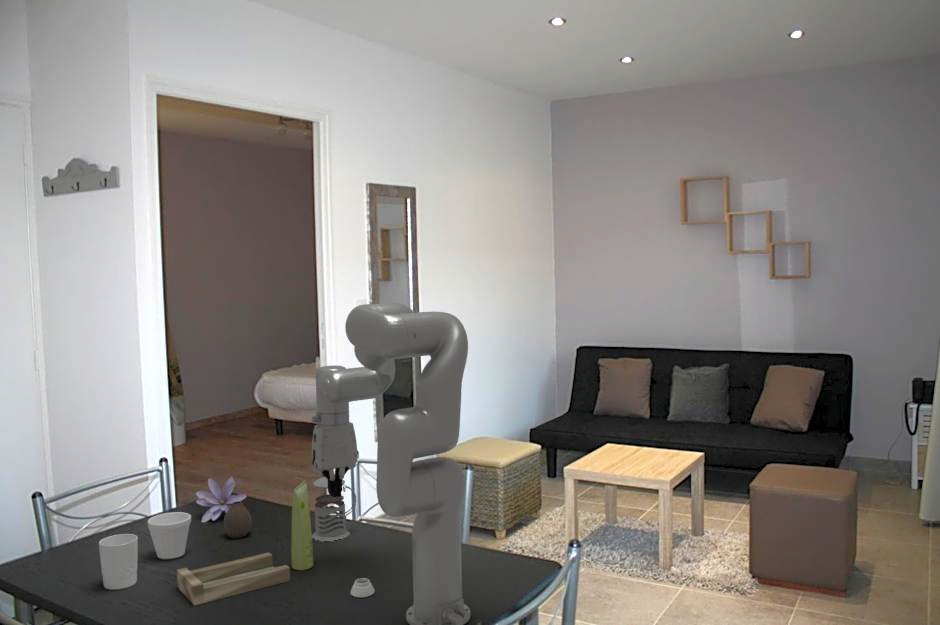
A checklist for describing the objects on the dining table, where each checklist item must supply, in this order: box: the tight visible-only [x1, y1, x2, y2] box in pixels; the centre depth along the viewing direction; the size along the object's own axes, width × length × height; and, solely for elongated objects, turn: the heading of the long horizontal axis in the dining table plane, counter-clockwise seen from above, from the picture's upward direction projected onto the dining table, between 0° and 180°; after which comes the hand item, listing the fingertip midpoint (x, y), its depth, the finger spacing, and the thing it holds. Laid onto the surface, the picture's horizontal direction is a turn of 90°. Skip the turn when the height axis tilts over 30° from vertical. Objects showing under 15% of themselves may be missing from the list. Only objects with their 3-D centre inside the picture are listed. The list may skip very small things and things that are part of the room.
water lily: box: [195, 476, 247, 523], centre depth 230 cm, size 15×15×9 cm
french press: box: [312, 476, 357, 542], centre depth 211 cm, size 10×12×25 cm
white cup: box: [98, 533, 139, 590], centre depth 182 cm, size 8×8×10 cm
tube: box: [290, 479, 314, 571], centre depth 189 cm, size 6×5×20 cm
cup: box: [147, 511, 192, 561], centre depth 199 cm, size 10×10×9 cm
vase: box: [223, 501, 252, 539], centre depth 212 cm, size 7×7×9 cm
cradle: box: [176, 552, 291, 606], centre depth 180 cm, size 12×21×4 cm, turn 125°
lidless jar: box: [349, 577, 375, 599], centre depth 174 cm, size 5×3×5 cm
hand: (335, 495), depth 194 cm, fingers closed
